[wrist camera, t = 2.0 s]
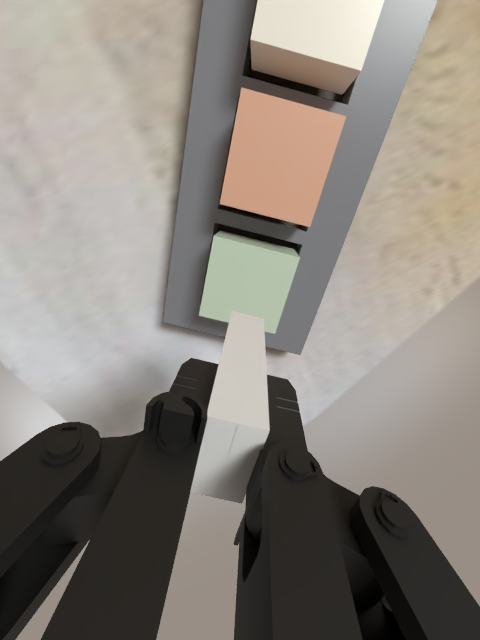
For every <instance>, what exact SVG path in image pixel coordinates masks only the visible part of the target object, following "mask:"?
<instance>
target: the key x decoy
mask: <svg viewBox="0 0 480 640" xmlns="http://www.w3.org/2000/svg"><path fill="white" fill-rule="evenodd" d="M345 119H346V116H343V115H340V114H336V113H332V112H329V111H325V110H322V109H318V108H314V107H311V106H307V105H303V104H300V103H296V102H293V101H289V100H285V99H282V98H278V97H275V96H271V95H267V94H264V93H260V92H256V91H253V90H249V89H246V88H242V87H241V92H240V98H239V103H238V108H237V114H236V119H235V124H234V130H233V135H232V140H231V146H230V151H229V157H228V162H227V167H226V173H225V178H224V183H223V189H222V194H221V199H220V204H222V205H226V206H230V207H234V208H238V209H241V210H245V211H249V212H253V213H257V214H261V215H265V216H269V217H272V218H276V219H280V220H284V221H288V222H292V223H296V224H300V225H304V226H307V227H310V226H311V223H312V220H313V217H314V214H315V211H316V208H317V205H318V201H319V198H320V195H321V192H322V189H323V186H324V183H325V180H326V177H327V174H328V171H329V168H330V165H331V162H332V159H333V156H334V153H335V150H336V147H337V144H338V141H339V137H340V134H341V131H342V128H343V125H344V122H345Z"/></svg>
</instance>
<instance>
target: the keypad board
mask: <svg viewBox="0 0 480 640" xmlns="http://www.w3.org/2000/svg"><path fill="white" fill-rule="evenodd" d="M257 1H258V0H203V8H202V16H201V24H200V32H199V40H198V48H197V56H196V63H195V71H194V79H193V87H192V95H191V103H190V111H189V119H188V127H187V134H186V142H185V150H184V158H183V166H182V174H181V182H180V190H179V198H178V205H177V213H176V221H175V229H174V237H173V245H172V253H171V261H170V269H169V276H168V284H167V292H166V300H165V308H164V316H163V322H164V323H168V324H172V325H177V326H181V327H185V328H189V329H194V330H198V331H202V332H206V333H210V334H215V335H219V336H223V337H226V332H227V328H228V324H229V323H228V322H223V321H219V320H215V319H211V318H207V317H203V316H199V312H200V306H201V301H202V296H203V290H204V285H205V280H206V274H207V269H208V263H209V258H210V253H211V247H212V242H213V237H214V235H215V234H216V233H217V229H218V224H223V225H226V226H230V227H234V228H238V229H242V230H246V231H250V232H254V233H258V234H262V235H266V236H270V237H274V238H278V239H281V240H285V241H289V242H293V243H297V245H296V249H295V251H296V253H297V254H298V255H299V257H300V259H299V262H298V266H297V269H296V272H295V275H294V278H293V281H292V284H291V287H290V290H289V293H288V296H287V299H286V302H285V305H284V308H283V311H282V314H281V317H280V320H279V323H278V326H277V330H276V333H275V334H273V333H269V332H265V347H269V348H273V349H278V350H282V351H286V352H290V353H294V354H299V355H300V354H301V352H302V349H303V347H304V344H305V341H306V339H307V336H308V334H309V331H310V329H311V326H312V323H313V321H314V318H315V316H316V313H317V310H318V308H319V305H320V303H321V300H322V298H323V295H324V292H325V290H326V287H327V285H328V282H329V279H330V277H331V274H332V272H333V269H334V267H335V264H336V261H337V259H338V256H339V254H340V251H341V248H342V246H343V243H344V241H345V238H346V236H347V233H348V230H349V228H350V225H351V223H352V220H353V217H354V215H355V212H356V210H357V207H358V205H359V202H360V199H361V197H362V194H363V192H364V189H365V186H366V184H367V181H368V179H369V176H370V174H371V171H372V168H373V166H374V163H375V161H376V158H377V155H378V153H379V150H380V148H381V145H382V143H383V140H384V137H385V135H386V132H387V130H388V127H389V124H390V122H391V119H392V117H393V114H394V112H395V109H396V106H397V104H398V101H399V99H400V96H401V93H402V91H403V88H404V86H405V83H406V81H407V78H408V75H409V73H410V70H411V68H412V65H413V62H414V60H415V57H416V55H417V52H418V50H419V47H420V44H421V42H422V39H423V37H424V34H425V31H426V29H427V26H428V24H429V21H430V19H431V16H432V13H433V11H434V8H435V6H436V3H437V0H384V3H383V6H382V9H381V12H380V16H379V19H378V22H377V25H376V28H375V31H374V34H373V37H372V40H371V43H370V46H369V49H368V52H367V55H366V58H365V61H364V64H363V67H362V70H361V72H360V73H359V74H358V76H357V77H356V78H355V79H354V81H353V82H352V83H351V84H350V86H349V87H348V88H347V90H346V91H345V94H344V97H343V100H342V103H339V102H336V101H332V100H329V99H325V98H321V97H318V96H314V95H311V94H307V93H303V92H300V91H296V90H293V89H289V88H285V87H282V86H278V85H275V84H271V83H267V82H264V81H260V80H257V79H253V78H249V77H247V72H248V66H249V61H250V56H251V41H250V39H251V34H252V28H253V23H254V18H255V12H256V7H257ZM241 87H242V88H246V89H249V90H253V91H256V92H260V93H264V94H267V95H271V96H275V97H278V98H282V99H285V100H289V101H293V102H296V103H300V104H303V105H307V106H311V107H314V108H318V109H322V110H325V111H329V112H332V113H336V114H340V115H343V116H346V119H345V122H344V125H343V128H342V131H341V134H340V137H339V141H338V144H337V147H336V150H335V153H334V156H333V159H332V162H331V165H330V168H329V171H328V174H327V177H326V180H325V183H324V186H323V189H322V192H321V195H320V198H319V201H318V205H317V208H316V211H315V214H314V217H313V220H312V223H311V226H310V227H307V226H304V225H303V226H302V229H301V228H297V227H293V226H289V225H286V224H282V223H278V222H274V221H270V220H266V219H262V218H258V217H254V216H251V215H247V214H243V213H239V212H235V211H231V210H227V209H223V208H222V204H220V199H221V194H222V189H223V183H224V178H225V173H226V167H227V162H228V157H229V151H230V146H231V140H232V135H233V130H234V124H235V119H236V114H237V108H238V103H239V98H240V92H241Z"/></svg>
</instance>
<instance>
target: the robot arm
mask: <svg viewBox="0 0 480 640" xmlns="http://www.w3.org/2000/svg"><path fill="white" fill-rule="evenodd" d="M190 492H191V493H196V494H201V495H205V496H211V497H215V498H219V499H224V500H228V501H233V502H238V503H242V502H243V499H244V497H245V494H246V511H245V514H244V516H243V518H242V521H241V523H240V526H239V528H238V531H237V533H236V537H235V541H234V545H238V544H239V559H238V578H237V594H236V613H235V629H234V640H480V606H479V605H478V604H477V602H476V601H475V599H474V598H473V596H472V595H471V594H470V592H469V591H468V589H467V588H466V586H465V585H464V583H463V582H462V580H461V579H460V578H459V576H458V575H457V573H456V572H455V570H454V569H453V568H452V566H451V565H450V563H449V562H448V560H447V559H446V557H445V556H444V554H443V553H442V552H441V550H440V549H439V547H438V546H437V545H436V543H435V541H434V540H433V539H432V537H431V536H430V534H429V533H428V531H427V530H426V528H425V527H424V526H423V524H422V523H421V521H420V520H419V518H418V517H417V516H416V514H415V513H414V512H413V511H412V510H411V508H410V507H409V506H408V505H407V504H406V503H405V502H404V501H402V500H401V499H400V498H399V497H397V496H396V495H395V494H393V493H391V492H389V491H387V490H385V489H383V488H378V487H373V486H372V487H369V488H366V489H364V490H363V492H362V493H361V495H360V496H359V495H357V494H355V493H354V492H351V491H350V490H348V489H346V488H344V487H342V486H340V485H339V484H337V483H335V482H333V481H332V480H330V479H328V478H327V477H326V476H325V475H324V474H323V472H322V470H321V468H320V465H319V463H318V462H317V460H316V459H315V458H314V457H313V456H312V454H311V453H309V452H308V450H307V446H306V442H305V436H304V431H303V426H302V421H301V416H300V413H299V406H298V403H297V396H296V391H295V389H294V388H293V386H292V385H291V383H290V382H289V381H288V380H287V379H283V378H279V377H274V376H270V375H267V369H266V350H265V331H264V318H259V317H255V316H251V315H247V314H243V313H239V312H235V311H232V312H231V316H230V320H229V324H228V328H227V332H226V337H225V341H224V345H223V349H222V353H221V357H220V361H219V364H215V363H211V362H206V361H202V360H198V359H194V358H191V359H189V360H188V361H186V362H185V363H184V364H182V365H181V368H180V370H179V372H178V374H177V376H176V378H175V380H174V382H173V385H172V387H171V389H170V391H169V392H165V393H162V394H160V395H158V396H156V397H154V398H152V400H151V401H150V402H149V403H148V404H147V405H146V413H145V422H144V430H143V431H141V432H139V433H136V434H133V435H130V436H123V437H109V438H100V436H99V433H98V431H97V430H96V429H94V428H93V427H92V426H91V425H88V424H84V423H80V422H68V423H62V424H58V425H55V426H52V427H49V428H48V429H46V430H44V431H42V432H41V433H39V434H37V435H36V436H34V437H33V438H31V439H30V440H29V441H27V442H26V443H25V444H23V445H22V446H21V447H19V448H18V449H17V450H16V451H14V452H12V453H11V454H10V455H9V456H7V457H6V458H4V459H3V460H2V461H0V640H15V639H16V638H17V637H18V635H19V634H20V633H21V631H22V630H23V629H24V627H25V626H26V625H27V623H28V622H29V621H30V619H31V618H32V616H33V615H34V614H35V612H36V611H37V610H38V608H39V607H40V606H41V604H42V603H43V602H44V600H45V599H46V598H47V596H48V595H49V594H50V592H51V591H52V589H53V588H54V587H55V586H56V584H57V583H58V581H59V580H60V579H61V577H62V576H63V574H64V573H65V572H66V571H67V569H68V568H69V567H70V565H71V564H72V563H73V561H74V560H75V559H76V557H77V556H78V555H79V553H80V552H81V550H82V549H83V548H84V546H85V545H86V544H87V542H88V541H89V540H90V541H89V543H88V546H87V547H86V550H85V552H84V554H83V555H82V557H81V560H80V561H79V563H78V565H77V568H76V570H75V572H74V574H73V576H72V578H71V580H70V582H69V584H68V586H67V588H66V590H65V592H64V594H63V596H62V598H61V600H60V602H59V604H58V606H57V608H56V610H55V612H54V614H53V616H52V618H51V620H50V622H49V624H48V626H47V628H46V630H45V632H44V634H43V636H42V638H41V640H156V637H157V633H158V629H159V625H160V620H161V616H162V611H163V607H164V603H165V599H166V594H167V590H168V586H169V581H170V577H171V573H172V569H173V564H174V559H175V555H176V551H177V547H178V542H179V538H180V533H181V530H182V525H183V521H184V517H185V512H186V508H187V504H188V499H189V495H190Z"/></svg>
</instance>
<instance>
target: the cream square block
mask: <svg viewBox="0 0 480 640" xmlns="http://www.w3.org/2000/svg"><path fill="white" fill-rule="evenodd" d="M383 3H384V0H258V1H257V7H256V12H255V18H254V23H253V28H252V34H251V39H250V41H251V63H252V70H255V71H258V72H262V73H265V74H269V75H273V76H276V77H280V78H283V79H287V80H290V81H294V82H298V83H301V84H305V85H308V86H312V87H316V88H319V89H323V90H326V91H330V92H333V93H337V94H341V95H343V93H344V92H345V91H346V90H347V88H348V87H349V86H350V84H351V83H352V82H353V81H354V79H355V78H356V77H357V76H358V74H359V73H360V72H361V70H362V67H363V64H364V61H365V58H366V55H367V52H368V49H369V46H370V43H371V40H372V37H373V34H374V31H375V28H376V25H377V22H378V19H379V16H380V12H381V9H382V6H383Z"/></svg>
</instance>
